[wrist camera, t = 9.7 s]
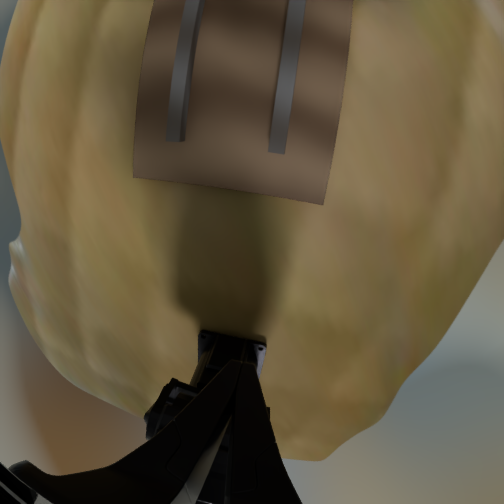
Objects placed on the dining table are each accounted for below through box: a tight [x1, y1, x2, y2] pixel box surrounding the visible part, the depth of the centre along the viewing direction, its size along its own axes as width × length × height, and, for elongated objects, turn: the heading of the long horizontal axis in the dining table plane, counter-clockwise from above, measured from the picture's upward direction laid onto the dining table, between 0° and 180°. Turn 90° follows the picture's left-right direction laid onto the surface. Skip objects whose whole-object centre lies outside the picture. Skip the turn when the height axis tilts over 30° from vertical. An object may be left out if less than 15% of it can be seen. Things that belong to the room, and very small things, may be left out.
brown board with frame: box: [133, 0, 353, 205], centre depth 11 cm, size 24×14×9 cm, turn 173°
